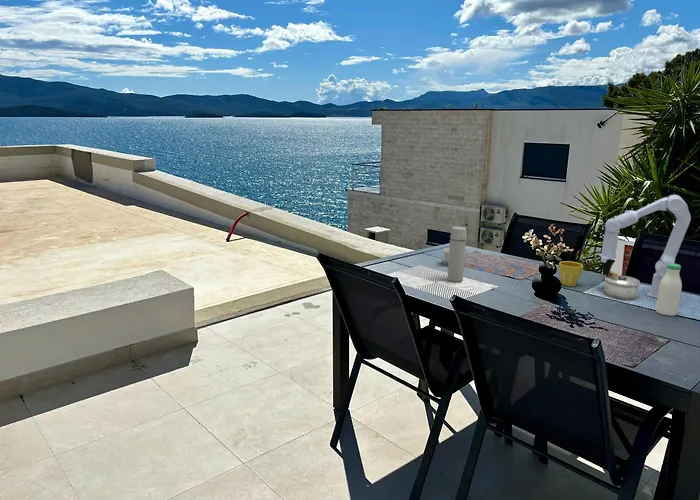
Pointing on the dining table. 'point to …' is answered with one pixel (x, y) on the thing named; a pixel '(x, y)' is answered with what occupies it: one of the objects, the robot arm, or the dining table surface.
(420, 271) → the dining table surface
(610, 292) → the cooker pot
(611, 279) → the cooker lid
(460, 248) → the water bottle
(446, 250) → the teacup
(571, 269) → the plant pot
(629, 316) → the dining table surface
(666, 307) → the milk bottle
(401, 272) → the dining table surface
